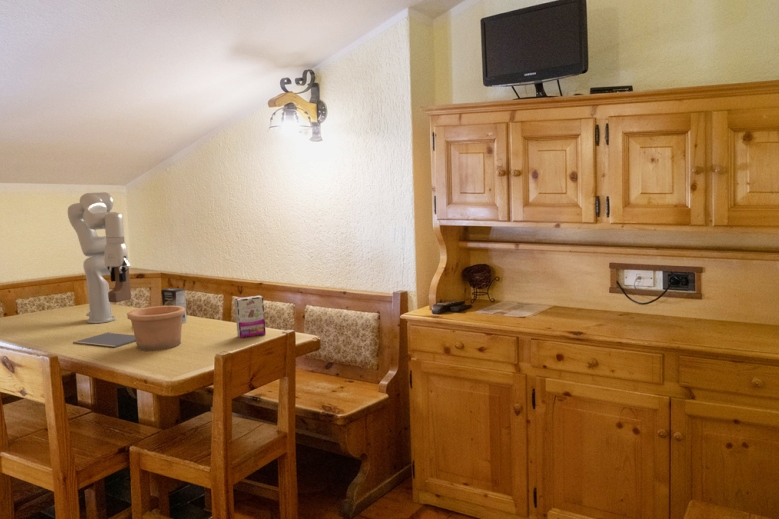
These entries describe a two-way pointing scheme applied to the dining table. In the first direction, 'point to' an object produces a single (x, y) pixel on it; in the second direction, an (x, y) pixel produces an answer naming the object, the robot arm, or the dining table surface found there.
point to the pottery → (157, 327)
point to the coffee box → (174, 299)
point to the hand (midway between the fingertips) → (118, 281)
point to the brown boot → (120, 288)
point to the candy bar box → (250, 316)
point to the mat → (108, 340)
